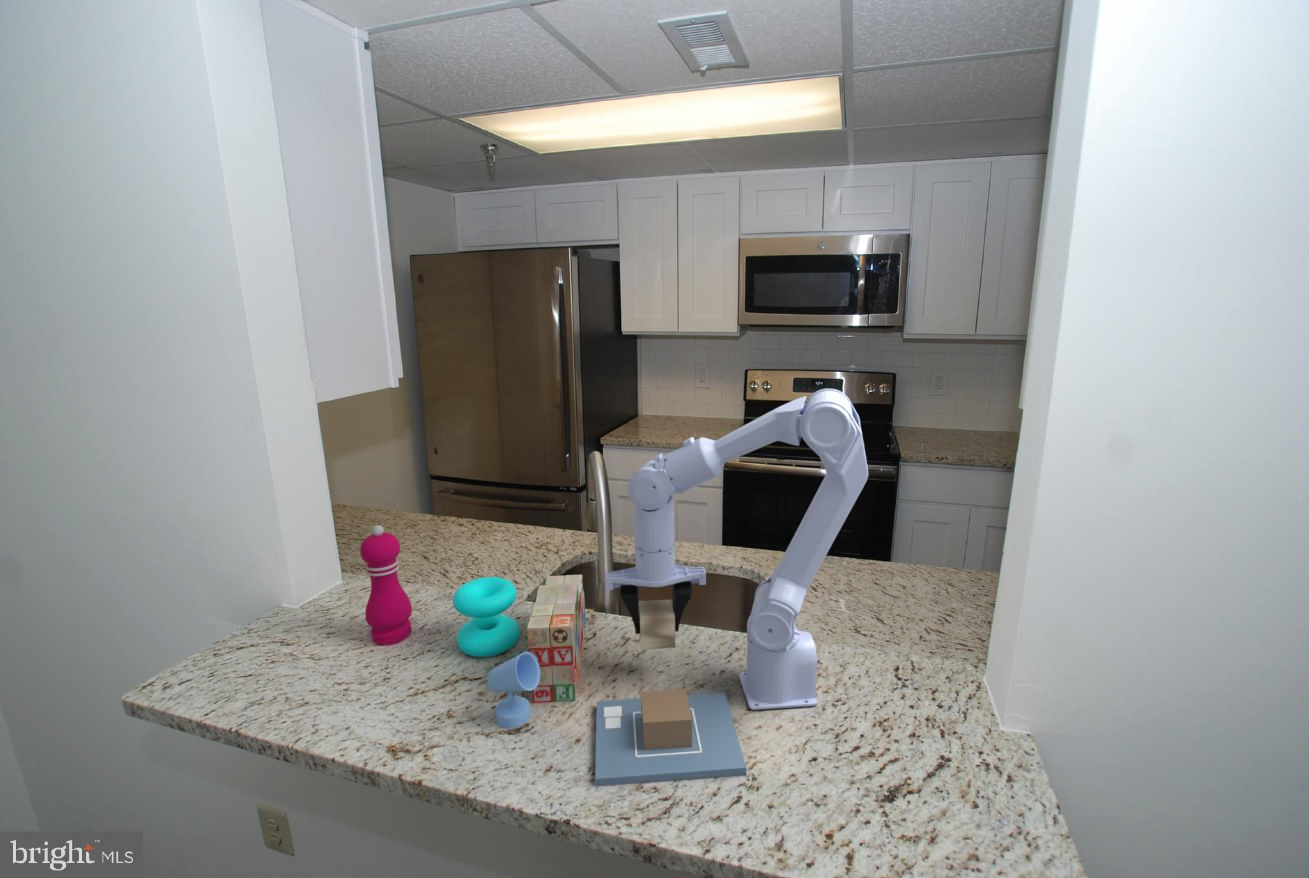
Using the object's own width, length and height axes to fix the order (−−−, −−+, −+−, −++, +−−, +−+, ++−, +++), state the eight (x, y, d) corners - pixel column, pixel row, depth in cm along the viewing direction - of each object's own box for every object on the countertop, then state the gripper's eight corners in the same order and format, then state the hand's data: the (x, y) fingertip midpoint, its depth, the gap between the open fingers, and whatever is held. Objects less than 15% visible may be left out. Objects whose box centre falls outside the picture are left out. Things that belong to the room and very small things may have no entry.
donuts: (454, 578, 104) (515, 570, 106) (460, 631, 107) (519, 623, 109) (449, 607, 95) (516, 598, 97) (455, 665, 97) (521, 655, 99)
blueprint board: (724, 698, 88) (724, 667, 87) (746, 774, 75) (746, 739, 73) (597, 707, 87) (595, 675, 86) (595, 785, 73) (593, 750, 72)
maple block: (671, 628, 95) (671, 599, 94) (675, 647, 91) (674, 616, 89) (639, 630, 95) (638, 601, 94) (641, 649, 90) (640, 618, 89)
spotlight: (547, 710, 86) (503, 701, 88) (542, 646, 84) (497, 639, 86) (530, 734, 82) (484, 724, 84) (525, 668, 79) (477, 659, 81)
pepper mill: (404, 647, 102) (389, 534, 97) (361, 647, 102) (343, 534, 97) (421, 623, 109) (408, 516, 104) (380, 624, 109) (365, 517, 104)
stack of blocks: (550, 623, 109) (546, 559, 106) (586, 622, 109) (582, 557, 106) (532, 704, 88) (526, 626, 85) (576, 702, 88) (572, 625, 85)
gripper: (700, 531, 93) (700, 612, 97) (604, 535, 92) (607, 617, 96) (708, 550, 87) (708, 637, 90) (603, 556, 86) (607, 643, 89)
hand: (656, 629), depth 92 cm, fingers closed on maple block, 5 cm apart
